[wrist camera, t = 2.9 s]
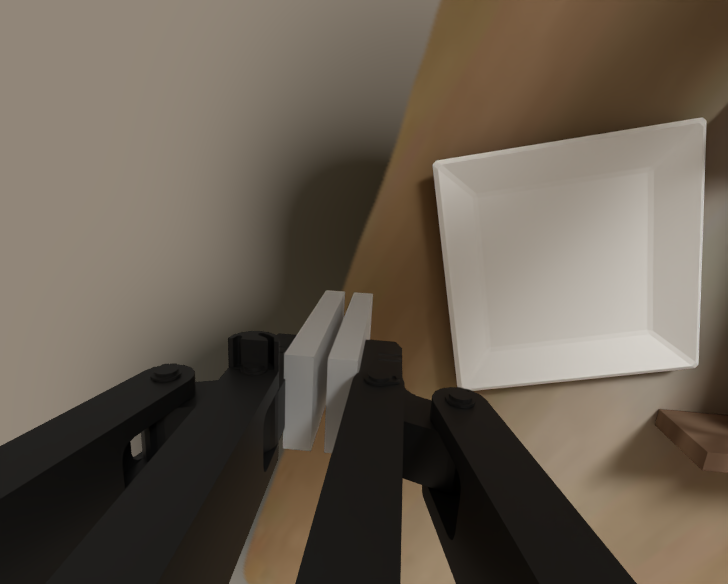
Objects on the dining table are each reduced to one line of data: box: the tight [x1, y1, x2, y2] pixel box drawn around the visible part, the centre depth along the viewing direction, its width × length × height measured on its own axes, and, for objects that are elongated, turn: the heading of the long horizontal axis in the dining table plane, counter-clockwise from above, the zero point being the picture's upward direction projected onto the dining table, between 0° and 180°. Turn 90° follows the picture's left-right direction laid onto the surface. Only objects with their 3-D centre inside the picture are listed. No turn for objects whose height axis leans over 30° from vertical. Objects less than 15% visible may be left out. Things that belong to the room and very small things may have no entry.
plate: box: [433, 117, 707, 391], centre depth 34 cm, size 19×19×2 cm
